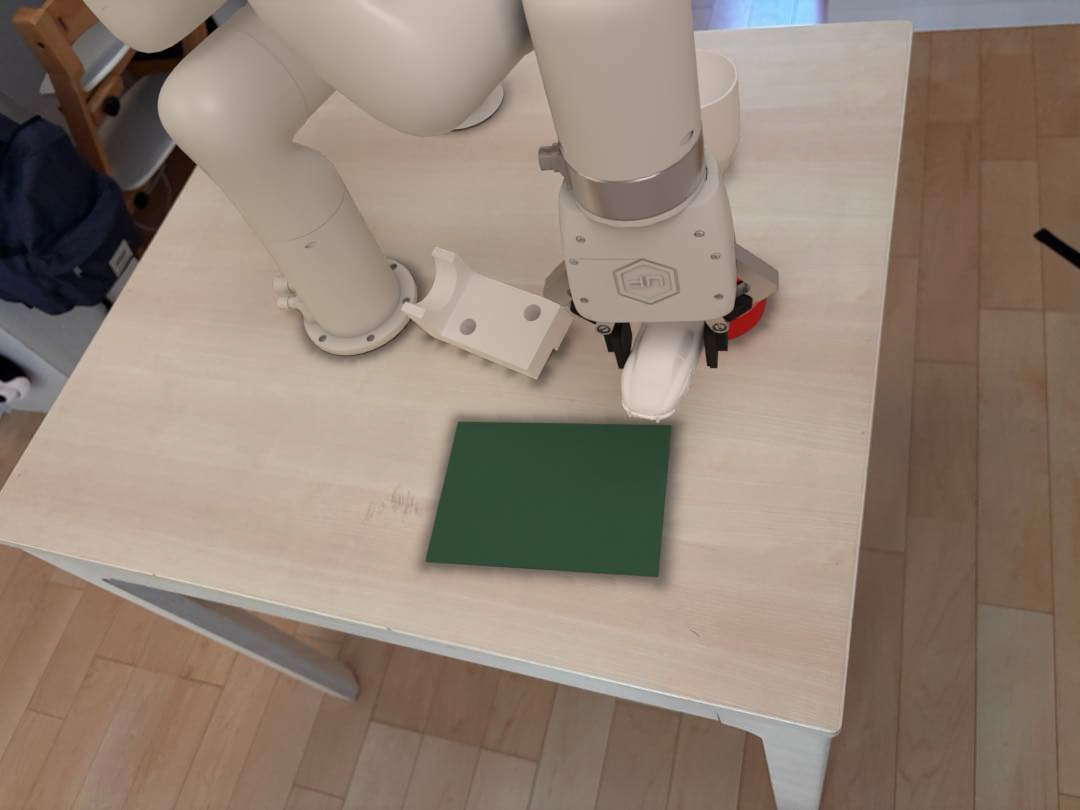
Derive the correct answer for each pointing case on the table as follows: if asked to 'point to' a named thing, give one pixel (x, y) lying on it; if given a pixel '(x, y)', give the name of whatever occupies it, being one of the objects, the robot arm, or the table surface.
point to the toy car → (661, 367)
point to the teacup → (484, 108)
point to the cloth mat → (554, 497)
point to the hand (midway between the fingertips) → (668, 350)
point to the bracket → (489, 317)
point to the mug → (719, 105)
